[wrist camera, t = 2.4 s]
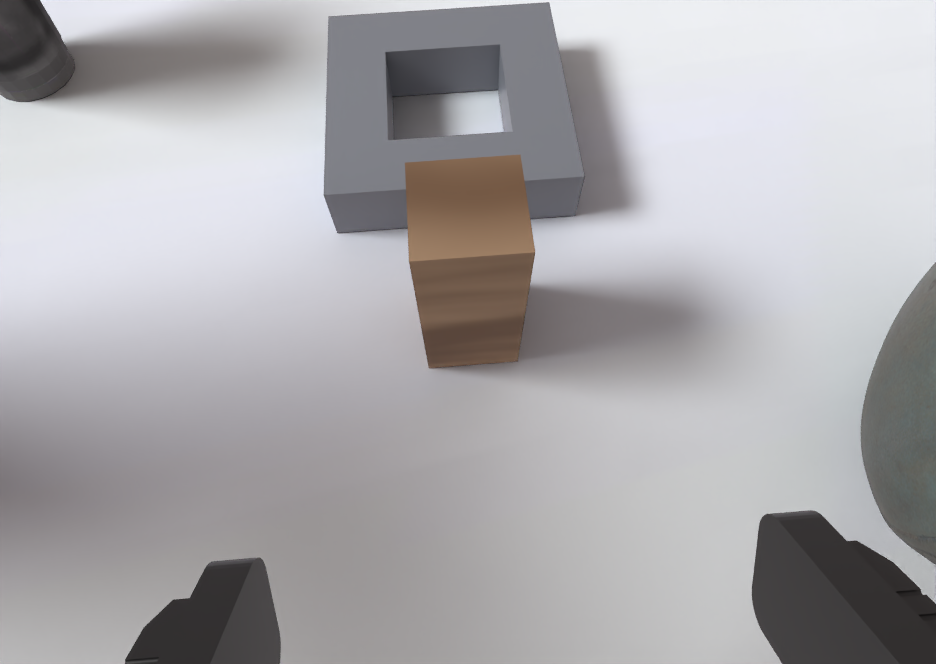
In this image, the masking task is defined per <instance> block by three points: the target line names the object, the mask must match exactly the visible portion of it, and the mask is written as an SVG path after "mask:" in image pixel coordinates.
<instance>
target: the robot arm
mask: <svg viewBox="0 0 936 664" xmlns="http://www.w3.org/2000/svg"><path fill="white" fill-rule="evenodd" d="M752 601H753V607H754V611H755V615H756V618H757V621H758V623H759V626H760V628H761V630H762V632H763V633H764V635H765V637H766V638H767V640H768V641H769V643H770V645H771V646H772V648H773V649H774V651H775V653H776V654H777V656H778V657H779V659H780V660H781V662H782V664H936V604H935V603H934V602H933V601H932V600H931V599H930V598H929V597H928V596H927V595H922V593H921V589H920V588H919V587H918V586H917V585H916V584H915V583H914V582H913V581H912V580H911V579H910V578H908V577H907V576H906V575H905V574H904V573H903V572H902V571H901V570H900V569H899V568H898V567H897V566H896V565H895V564H894V563H893V562H892V561H890V560H888V559H887V558H885V557H883V556H881V555H880V554H878V553H876V552H875V551H873V550H871V549H870V548H868V547H866V546H865V545H863V544H861V543H860V542H858V541H846V540H845V539H844V538H843V537H842V536H841V535H840V534H839V533H838V532H837V531H836V529H835V528H834V527H833V526H832V525H831V524H830V523H829V522H828V521H827V520H826V519H825V518H824V517H823V516H822V515H821V514H819V513H818V512H816V511H799V512H786V513H774V514H766V515H764V516H763V517H762V519H761V521H760V524H759V531H758V540H757V549H756V558H755V566H754V575H753V584H752ZM280 649H281V644H280V633H279V627H278V623H277V618H276V613H275V609H274V604H273V599H272V595H271V590H270V585H269V581H268V576H267V571H266V567H265V564H264V562H263V560H262V559H261V558H249V559H237V560H225V561H213V562H211V563H209V564H208V565H207V566H206V568H205V570H204V572H203V574H202V575H201V577H200V579H199V581H198V583H197V585H196V587H195V589H194V591H193V593H192V595H191V597H190V598H188V599H176V600H172V601H171V602H170V603H169V604H168V605H167V606H166V607H165V608H164V609H163V610H162V611H161V612H160V613H159V614H158V615H157V616H156V617H155V618H154V619H153V620H151V621H150V622H149V623H148V624H147V625H146V626H145V627H144V628H143V630H142V632H141V634H140V635H139V637H138V639H137V640H136V642H135V644H134V646H133V647H132V649H131V651H130V653H129V654H128V656H127V658H126V659H125V664H279V663H280Z"/></svg>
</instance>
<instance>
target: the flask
mask: <svg viewBox="0 0 936 664" xmlns="http://www.w3.org/2000/svg"><path fill="white" fill-rule="evenodd" d="M861 449H862V457H863V462H864V466H865V470H866V474H867V478H868V481H869V484H870V487H871V490H872V493H873V496H874V499H875V501H876V503H877V505H878V507H879V510H880V512H881V514H882V516H883V518H884V519H885V521H886V523H887V524H888V525H889V527H890V528H891V529H892V530H893V532H894V533H895V534H896V535H897V536H898V537H899V538H901V539H902V540H903V541H904V542H905V543H906V544H908V545H909V546H910V547H911V548H913V549H914V550H915V551H917V552H918V553H919V554H921V555H922V556H924V557H925V558H926V559H928V560H929V561H931V562H932V563H934V564H936V262H935V264H934V265H933V266H932V267H931V268H930V269H929V271H928V272H927V273H926V274H925V276H924V277H923V278H922V279H921V281H920V282H919V283H918V285H917V286H916V287H915V289H914V290H913V291H912V293H911V294H910V296H909V297H908V299H907V300H906V302H905V303H904V305H903V306H902V308H901V310H900V311H899V313H898V315H897V316H896V318H895V320H894V322H893V324H892V326H891V328H890V330H889V332H888V334H887V336H886V338H885V340H884V343H883V345H882V348H881V350H880V352H879V355H878V357H877V360H876V363H875V365H874V368H873V371H872V374H871V377H870V380H869V384H868V387H867V391H866V395H865V400H864V405H863V411H862V419H861Z"/></svg>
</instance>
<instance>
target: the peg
mask: <svg viewBox="0 0 936 664" xmlns="http://www.w3.org/2000/svg"><path fill="white" fill-rule="evenodd" d="M405 179H406V201H407V224H408V246H409V263H410V269H411V274H412V279H413V285H414V290H415V296H416V301H417V307H418V312H419V317H420V323H421V328H422V334H423V339H424V344H425V350H426V355H427V361H428V366H429V368H438V367H450V366H463V365H476V364H489V363H502V362H514V361H518V355H519V349H520V343H521V336H522V330H523V324H524V318H525V312H526V306H527V300H528V293H529V287H530V281H531V275H532V269H533V263H534V256H535V248H534V241H533V235H532V228H531V221H530V214H529V208H528V201H527V194H526V188H525V181H524V174H523V168H522V161H521V154H520V155H506V156H492V157H477V158H463V159H449V160H434V161H420V162H406V163H405Z"/></svg>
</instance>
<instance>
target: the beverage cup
mask: <svg viewBox="0 0 936 664" xmlns="http://www.w3.org/2000/svg"><path fill="white" fill-rule="evenodd" d="M74 68H75V67H74V59H73V58H72V56H71V55H70V53H69V52H68V50H67V48H66V46H65V44H64V42H63V41H62V39H61V35H60V33H59V32H58V30H57V28H56V27H55V25H54V23H53V22H52V20H51V18H50V16H49V15H48V13H47V11H46V10H45V8H44V6H43V5H42V3H41V1H40V0H0V95H2V96H3V97H5V98H6V99H9V100H13V101H33V100H37V99H41V98H44V97H46V96H48V95H51V94H53V93H55V92H56V91H57V90H59V89H60V88H61V87H63V86H64V85H65V84H66V83H67V82H68V80H69V79H70V78H71V76H72V74H73V71H74Z"/></svg>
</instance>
